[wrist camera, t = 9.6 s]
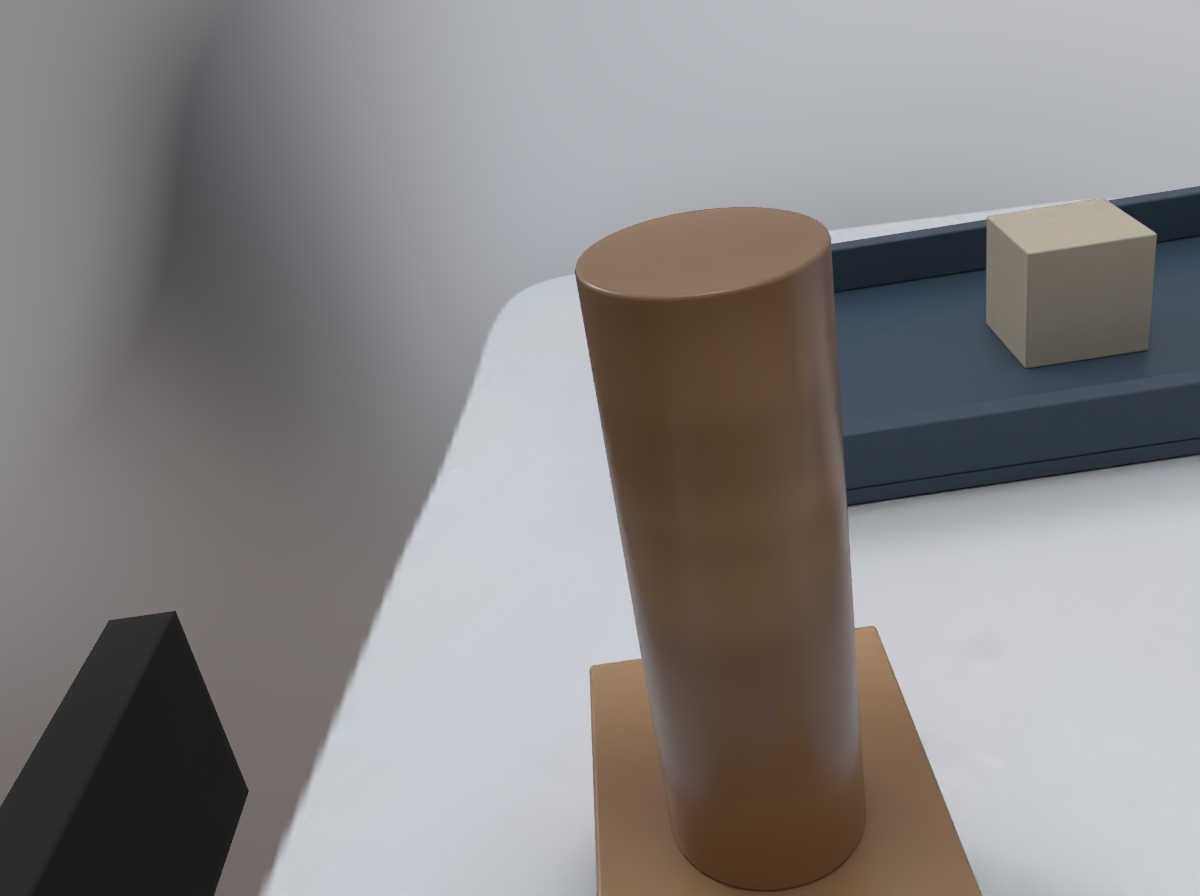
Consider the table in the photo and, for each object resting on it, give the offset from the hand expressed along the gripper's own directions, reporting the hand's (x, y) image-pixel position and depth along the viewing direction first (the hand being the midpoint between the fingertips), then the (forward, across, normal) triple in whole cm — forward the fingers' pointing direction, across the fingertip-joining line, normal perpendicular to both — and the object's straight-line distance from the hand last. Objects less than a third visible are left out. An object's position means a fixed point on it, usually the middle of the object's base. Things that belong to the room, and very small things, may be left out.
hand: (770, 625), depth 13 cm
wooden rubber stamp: (+3, 0, -10) cm, 10 cm away
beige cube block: (+26, +13, -10) cm, 30 cm away
